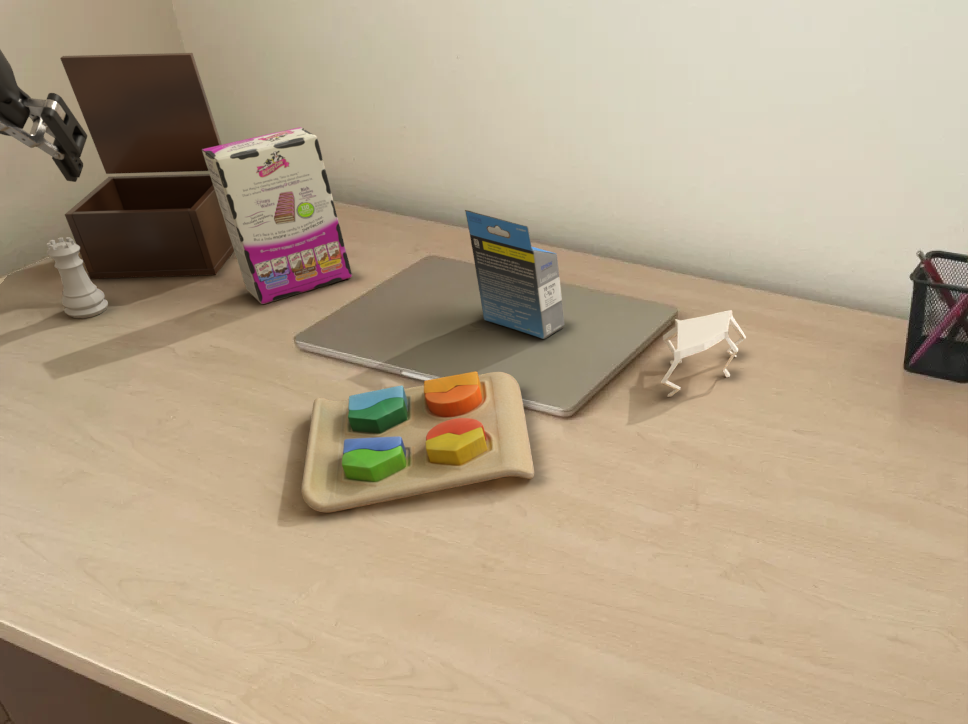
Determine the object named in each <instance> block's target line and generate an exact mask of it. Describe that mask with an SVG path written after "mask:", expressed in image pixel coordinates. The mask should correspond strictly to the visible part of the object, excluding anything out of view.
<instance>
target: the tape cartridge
mask: <svg viewBox="0 0 968 724" xmlns="http://www.w3.org/2000/svg"><path fill="white" fill-rule="evenodd" d="M464 212H465V217H466V223H467V227H468V231H469V232H468V233H469V237H470V238H469V239H470V243H471V244H470V245H471V249H472V256H473V261H474V268H475V273H476V279H477V286H478V291H479V298H480V304H481V309H482V317H483V320H484V321H485V322H488V323H492V324H496V325H500V326H503V327H506V328H508V329H512V330H516V331H518V332H521V333H523V334H524V333H525V334H527V335H531V336H534V337H537V338H539V339H542V340H545V339H546V338H548V337H550V336H552V335H553V334H554V333H556V332H558V331H560V330H562V329H564V327H565V316H564V306H563V305H564V304H563V297H562V296H563V295H562V288H561V287H562V286H561V279H560V270H559V260H558V254H557V252H553V251H549V250H546V249H542V248H539V247H535V246H532V241H531V237H530V230H529V226H528V225H523V224H520V223H516V222H512V221H509V220H505V219H502V218H497V217H493V216H491V215H486V214H482V213H479V212H475V211H472V210H468V209H464ZM496 227H498V228H499V229H500V230H501V231H504V232H506V233H507V234H508V236H505V235H502V234H498V233H496V232H495V233H494V232H491V231H490V230H489V228H493V229H495V228H496Z"/></svg>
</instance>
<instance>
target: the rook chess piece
mask: <svg viewBox="0 0 968 724" xmlns="http://www.w3.org/2000/svg"><path fill="white" fill-rule="evenodd" d="M57 240H58V242H56V240H55V239H50V240H49V241H48V242H47V243H46V246H47V250H46V255H47V256H49V257H50V258H51V259H53V261H54V268H56V269H57V271H58V273H59V275H60V280H61V284H62V288H63V289H62V297H61V305H62V306H63V307H65V308H64V313H65V314H66V315H68V316H69V317H71V318H72V319H73V318H74V319H87V318H92V317H95V316H98V315H100V314H102V313H104V312H105V311H106V310H107V308H108V305H109V301H108V300H107V299H106V298H105V293H104V291H102V289H100V288H97V285H96V284H95V283H93V281H92V279H90V277H89V274H88V272H87V270H85V266H84V265H83V264H84V262H83V259H82V258H80V256H79V254H80V252H79V250H80V246H78V245H77V244H76V242H75V240H74V239H73V238H72V237H69V236H66V237H65V240H64V237H63V236H61V237H57Z"/></svg>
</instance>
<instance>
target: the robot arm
mask: <svg viewBox="0 0 968 724" xmlns="http://www.w3.org/2000/svg"><path fill="white" fill-rule="evenodd" d="M29 119H30V120H31V121H32V126H31V128H30V131H29V132H28V131H26V130H24V127H25V126H26V124H27V122H28V120H29ZM45 133H46V134H47V135H49V136H50V137H52V138H54V139H53V142H51V141H49V140H47V139H46V138H45ZM0 135H2V136H7V137H13V138H14V139H16V140H17V141H18V142H20V143H22V144H23V145H24V146H27V147H29V148H31V149H32V148H37V149H40V150H41V151H43V152H44V153H46V154H47V155H49V156H50V157H51V159H52V161H53V162H54V163H55V166H56V167H57V168H58V170H59V172H60V173H61V174H62V176H63V177H64V179H65V180H66V181H67V182H73V183H76V182H77V181H78V179H80V176H81V174H82V171H83V168H84V163H83V161H82V159H81V156H82V154H83V151H84V147H85V146H86V142H87V139H88V134H87V132H86V131H85V129H84V128H83V126H82V125H81V123H80V122H79V121H78V119H77V118H76V116H75V115H74V114H73V111H72V110H71V109H70V108H69V106H68V104H67V103H66V101H65V100H64V98H63V97H62V96H60V95H59V94H57V93H55V92H49V93H48V94H47V95H46V99H42V98H32V97H31V96H30V95H29V94H28V93H26V92H25V91H24V90H23V89H22V88H21V87H19V85H18V83H17V80H16V77H15V73H14V70H13V67H12V65H11V64H10V62H9V60H8V59H7V57H6V56H5V54H4V52H3V51H2V50H1V49H0Z"/></svg>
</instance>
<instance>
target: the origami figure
mask: <svg viewBox="0 0 968 724" xmlns="http://www.w3.org/2000/svg"><path fill="white" fill-rule="evenodd" d="M674 323H675V324H674V325H675V326H674V327H672V328H671V329H670V330H669V331H667V332H666V333H665V334H663V335H662V340H663V343H664V344H665V345H666V347H667V348H668V349H669V351H670V353H671V354H672V355H673V359H672V360H670V361H669V364H670V367H669V369H668V370H667V372H666V373H665V374H664V376H663V378H662V379H661V381H660V384H663V385H665V386H667V387H669V388H672V389H673V390H672V391H671V392H669V393H668V394H667V397H668V398H669V397H673V396H674V395H675V394H676V393H678V392H679V391H680V390H681V386H679V385H677V384H675V383H674V382H671V381H669V380H668V379H669V378H670V376H671V375H672V373H673V372H674V371H675V369H676V367H677V366H678V365H679V364H682V363H683V362H682V361H683V359H684V358H687V357H690V356H693V355H696V354H699V353H702V352H705V351H706V350H708V349H710V348H712V347H713V346H715V345H717V344H718V343H720V342H722V341H723V340H726V342H727V345H729V348H727V349H726V353H727V354H728V355H730V356H729V359H727V362H726V363H725V365H724V366H723V368H722V372H723V374H724V376H725V377H726V378H730V376H731V374H730V372H729V370H728V369H727V367H728V366H729V365H730V363H731V362H732V360H733V359H734V358H737V357H738V356H737V353H738V352H739V347H738V346H739V344H741V343H743V342H744V341H745V340H746V338H747V336H746V334H745V333H744V330H742V328H741V327H740V325H739V324H738V322H737V320H736V319H735V317H734V316H733V310H732V309H729V310H724V311H719V312H714V313H711V314H707V315H703V316H702V315H701V316H697V317H692V318H687V319H686V318H685V319H678V318H674ZM729 327H731V328H732V329H733V330H734V332H736V334H737V335H738V337H739V338H738V339H737V340H736V341H735V342H734V341H732V339H731V338H730V334H729ZM675 337H677V348H675V346H674V344H673V343H672V341H671V340H672V339H674V338H675Z"/></svg>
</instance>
